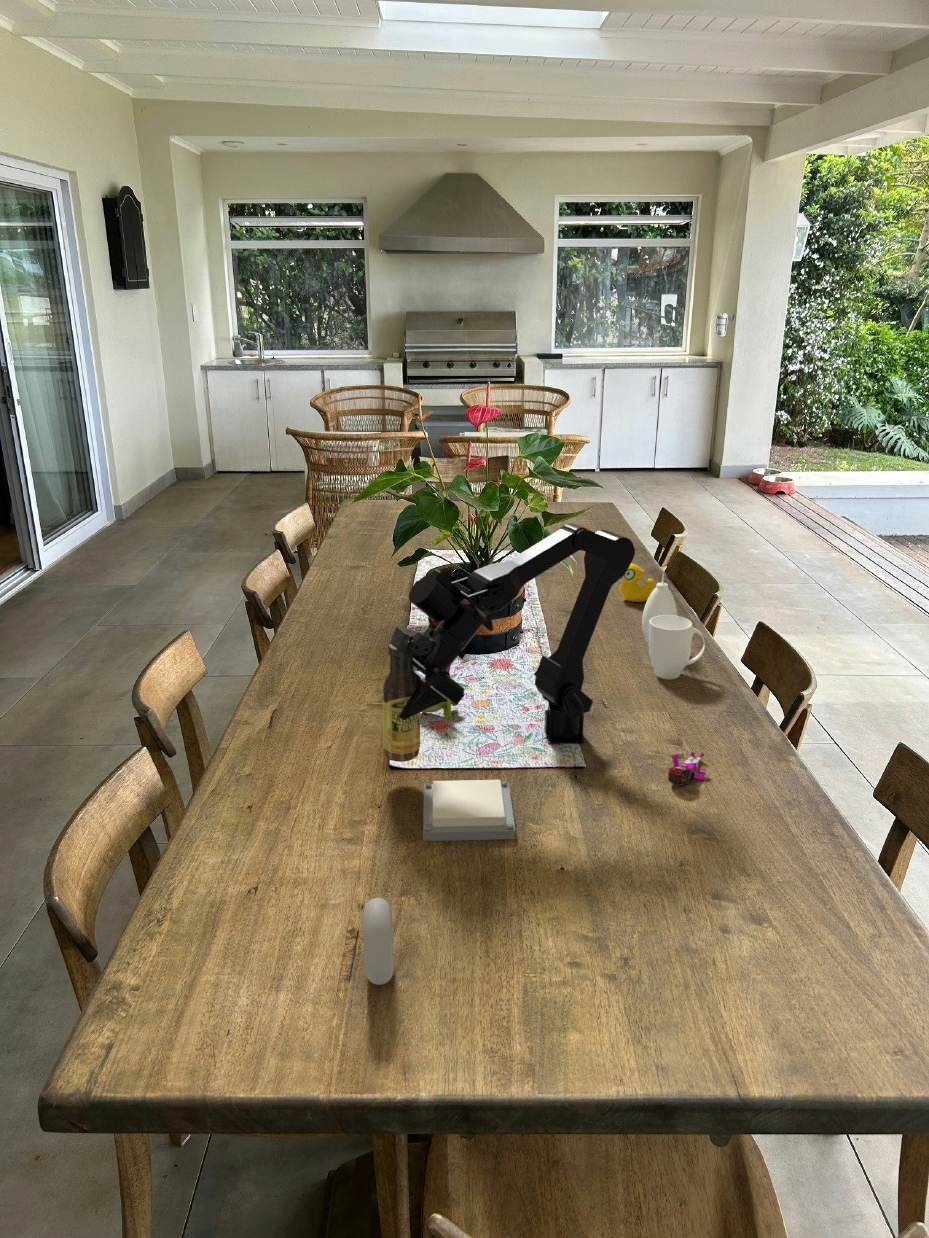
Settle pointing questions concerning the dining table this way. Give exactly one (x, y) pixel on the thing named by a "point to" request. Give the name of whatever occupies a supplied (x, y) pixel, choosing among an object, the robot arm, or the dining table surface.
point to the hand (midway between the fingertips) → (393, 710)
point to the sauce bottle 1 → (400, 709)
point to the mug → (671, 645)
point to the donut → (378, 941)
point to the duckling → (636, 585)
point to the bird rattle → (441, 704)
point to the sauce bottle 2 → (658, 606)
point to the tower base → (466, 830)
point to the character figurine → (686, 769)
